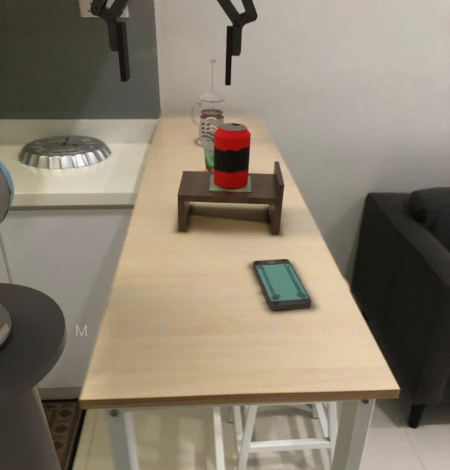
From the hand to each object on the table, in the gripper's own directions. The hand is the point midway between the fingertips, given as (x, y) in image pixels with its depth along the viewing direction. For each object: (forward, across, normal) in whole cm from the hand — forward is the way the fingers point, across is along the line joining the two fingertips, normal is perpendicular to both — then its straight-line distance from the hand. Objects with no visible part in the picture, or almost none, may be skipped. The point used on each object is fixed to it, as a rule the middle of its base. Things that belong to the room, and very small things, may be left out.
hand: (176, 81), depth 62 cm
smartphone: (+35, +18, +4) cm, 39 cm away
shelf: (+35, +8, +31) cm, 47 cm away
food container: (+35, +6, +57) cm, 67 cm away
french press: (+35, +1, +88) cm, 95 cm away
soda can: (+26, +8, +31) cm, 41 cm away
